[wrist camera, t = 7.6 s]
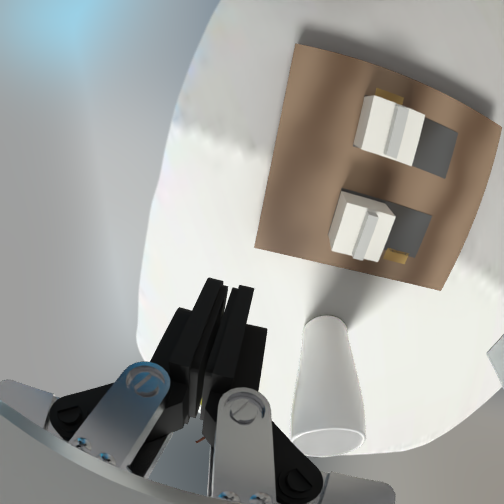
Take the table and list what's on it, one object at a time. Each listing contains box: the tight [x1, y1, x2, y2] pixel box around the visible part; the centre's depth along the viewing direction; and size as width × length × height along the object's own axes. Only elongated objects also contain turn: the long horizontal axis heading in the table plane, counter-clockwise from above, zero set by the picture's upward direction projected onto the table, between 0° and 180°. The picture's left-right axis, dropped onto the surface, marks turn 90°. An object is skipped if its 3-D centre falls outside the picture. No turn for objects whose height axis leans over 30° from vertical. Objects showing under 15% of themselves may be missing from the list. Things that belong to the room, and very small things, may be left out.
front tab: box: [354, 95, 425, 166], centre depth 18 cm, size 4×4×4 cm
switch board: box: [254, 44, 502, 291], centre depth 23 cm, size 20×18×2 cm
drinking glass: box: [290, 315, 366, 457], centre depth 27 cm, size 7×7×15 cm
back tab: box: [328, 191, 396, 262], centre depth 22 cm, size 4×4×4 cm
